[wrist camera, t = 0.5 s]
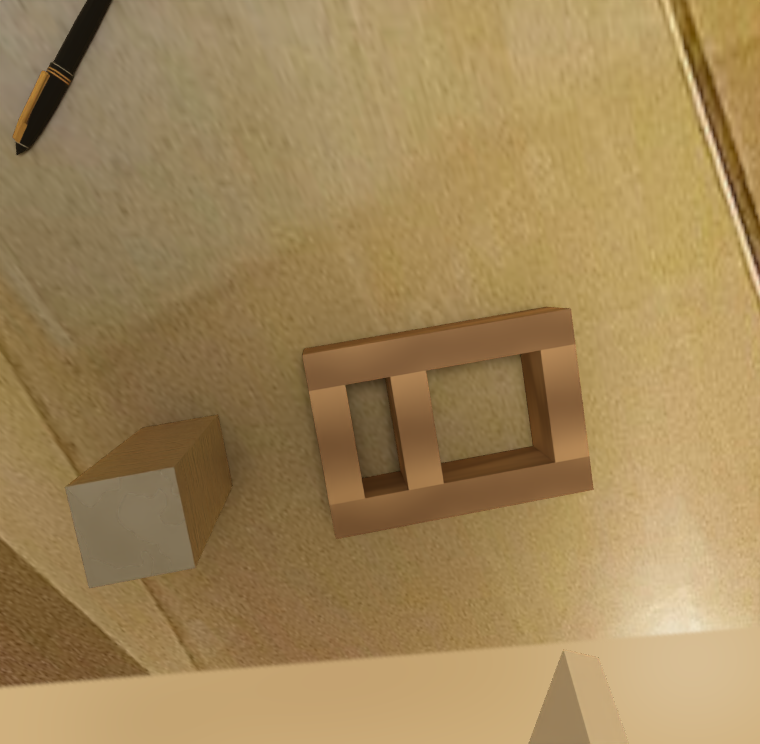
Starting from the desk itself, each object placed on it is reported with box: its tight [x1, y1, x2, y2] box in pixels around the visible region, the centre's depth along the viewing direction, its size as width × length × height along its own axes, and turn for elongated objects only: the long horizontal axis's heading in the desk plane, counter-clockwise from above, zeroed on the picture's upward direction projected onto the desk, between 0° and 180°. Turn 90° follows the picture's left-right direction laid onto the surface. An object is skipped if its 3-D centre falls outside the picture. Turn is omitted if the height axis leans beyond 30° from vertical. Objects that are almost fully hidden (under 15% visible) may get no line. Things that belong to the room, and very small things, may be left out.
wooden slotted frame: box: [302, 307, 594, 539], centre depth 39 cm, size 10×15×4 cm
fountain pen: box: [13, 0, 111, 155], centre depth 36 cm, size 14×1×2 cm, turn 150°
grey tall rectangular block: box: [65, 414, 233, 588], centre depth 34 cm, size 4×4×12 cm
